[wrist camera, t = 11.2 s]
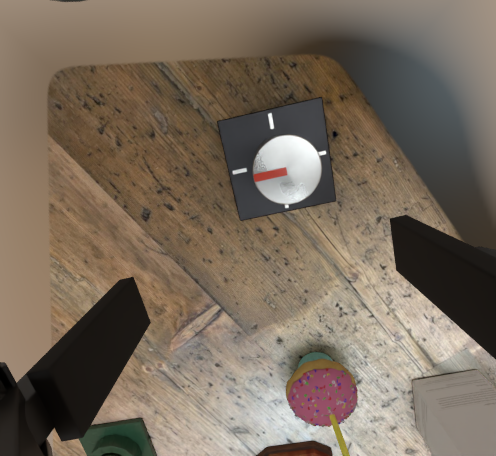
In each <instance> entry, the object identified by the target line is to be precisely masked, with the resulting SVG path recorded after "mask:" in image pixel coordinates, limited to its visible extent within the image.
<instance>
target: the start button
mask: <svg viewBox="0 0 496 456" xmlns="http://www.w3.org/2000/svg"><path fill="white" fill-rule="evenodd" d="M103 456H122V455H120V454H116V453H112V452H111V453H106V454H104V455H103Z"/></svg>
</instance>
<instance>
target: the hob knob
mask: <svg viewBox="0 0 496 456" xmlns="http://www.w3.org/2000/svg"><path fill="white" fill-rule="evenodd" d="M321 174H322V163H321V158H320V156H319V153H318V151H317V150H316V148H315V147H314V146H313V145H312V144H311V143H310V142H309V141H308V140H306V139H304V138H303V137H300V136H297V135H291V134H287V135H279V136H274V137H270V138H268V139H266V140H265V141H263V142H262V143H261V144H260V145H259V147H258V148H257V150H256V152H255V154H254V158H253V178H254V182H255V184H256V187H257V188H258V190H259V191H260V193H261V194H262V195H263V196H264V197H266V198H267V199H268V200H270V201H272V202H275V203H278V204H294V203H298V202H300V201H302V200H304V199H306V198H307V197H308V196H310V195H311V194H312V193H313V191H314V190H315V189H316V187H317V186H318V183H319V181H320V178H321Z"/></svg>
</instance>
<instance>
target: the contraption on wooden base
mask: <svg viewBox="0 0 496 456" xmlns="http://www.w3.org/2000/svg"><path fill="white" fill-rule="evenodd" d="M257 456H332V451H331V448H330V447H327V446H325V445H322V444H320V443H317V442H315V441H309V442H302V443H294V444H287V445H279V446H272V447H267V448H266V449H264V450H263V451H262V452H261V453H260V454H258V455H257Z"/></svg>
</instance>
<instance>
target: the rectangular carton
mask: <svg viewBox="0 0 496 456" xmlns="http://www.w3.org/2000/svg"><path fill="white" fill-rule="evenodd" d="M412 384H413V395H414V405H415V416H416V426H417V429H418V431H419V433H420V434H421V436H422V438H423V440H424V441H425V443H426V445H427V447H428V448H429V450H430V452H431V453H432V455H433V456H496V388H495V387H494V386H493V385H492V384H491V383H490V382H489V381H488V380H487V379H486V378H485V377H484V376H483V375H482V374H481V373H480V372H479V371H478V370H471V371H465V372H459V373H454V374H448V375H442V376H436V377H430V378H424V379H419V380H413V381H412Z"/></svg>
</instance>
